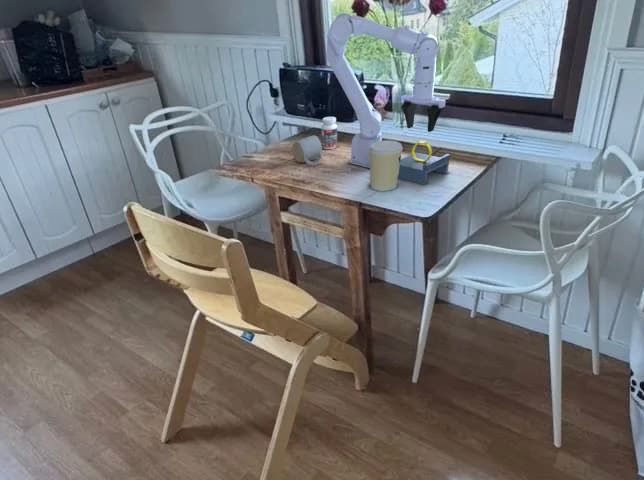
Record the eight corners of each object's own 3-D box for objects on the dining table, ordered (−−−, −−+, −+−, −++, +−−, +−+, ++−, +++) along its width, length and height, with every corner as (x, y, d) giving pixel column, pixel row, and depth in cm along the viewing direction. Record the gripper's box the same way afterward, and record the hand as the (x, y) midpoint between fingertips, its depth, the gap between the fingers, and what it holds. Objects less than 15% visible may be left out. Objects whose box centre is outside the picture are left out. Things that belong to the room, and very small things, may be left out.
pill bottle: (326, 150, 186) (325, 121, 180) (318, 146, 190) (318, 118, 184) (340, 147, 187) (340, 118, 181) (332, 143, 191) (332, 115, 185)
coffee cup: (405, 187, 153) (408, 146, 145) (376, 194, 151) (378, 152, 144) (390, 177, 160) (392, 138, 152) (362, 183, 158) (363, 143, 151)
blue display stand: (391, 175, 161) (392, 158, 158) (415, 164, 167) (416, 147, 163) (424, 184, 153) (426, 166, 150) (447, 172, 159) (450, 154, 156)
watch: (409, 161, 158) (411, 141, 155) (413, 158, 160) (415, 138, 156) (427, 164, 155) (430, 143, 151) (432, 161, 157) (434, 141, 153)
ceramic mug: (291, 160, 181) (290, 138, 176) (311, 154, 183) (310, 132, 178) (307, 168, 173) (307, 145, 168) (327, 163, 176) (327, 140, 171)
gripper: (453, 80, 151) (447, 129, 159) (412, 76, 160) (408, 122, 168) (439, 86, 147) (434, 135, 156) (397, 81, 157) (395, 128, 165)
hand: (420, 129), depth 162 cm, fingers open, 7 cm apart
